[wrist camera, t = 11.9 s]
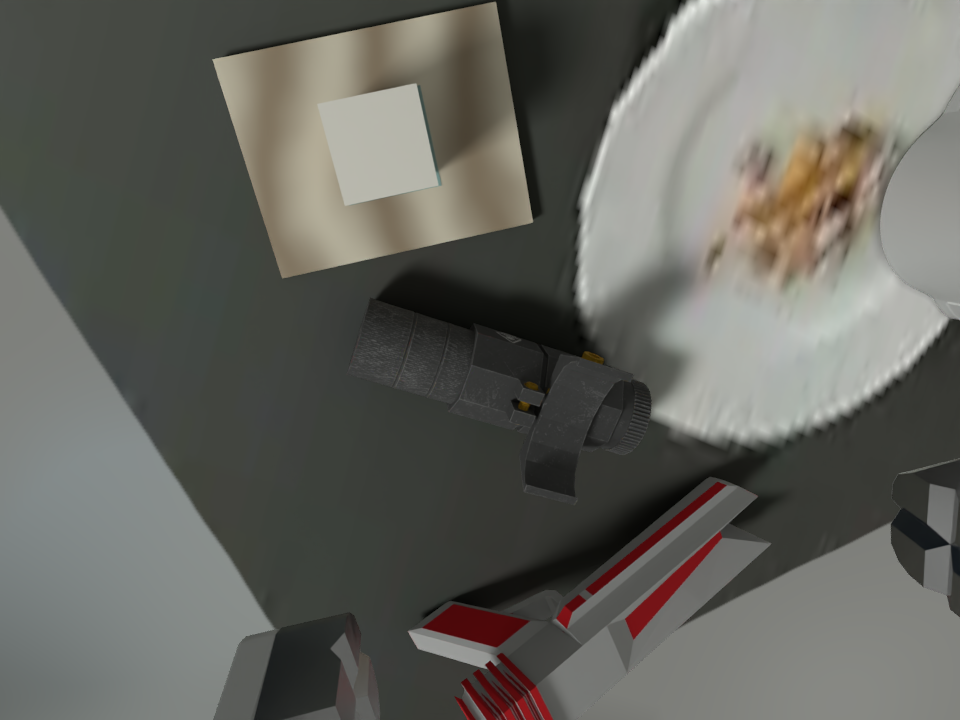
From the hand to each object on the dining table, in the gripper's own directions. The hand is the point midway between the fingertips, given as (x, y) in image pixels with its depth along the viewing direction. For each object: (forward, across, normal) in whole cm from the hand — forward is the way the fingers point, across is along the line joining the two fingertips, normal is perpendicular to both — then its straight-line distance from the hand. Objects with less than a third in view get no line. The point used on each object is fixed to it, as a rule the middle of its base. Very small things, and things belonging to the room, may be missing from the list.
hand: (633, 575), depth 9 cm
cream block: (+31, +3, -7) cm, 32 cm away
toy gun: (+38, -5, +30) cm, 48 cm away
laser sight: (+38, -2, +11) cm, 39 cm away
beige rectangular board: (+37, +3, -7) cm, 38 cm away
